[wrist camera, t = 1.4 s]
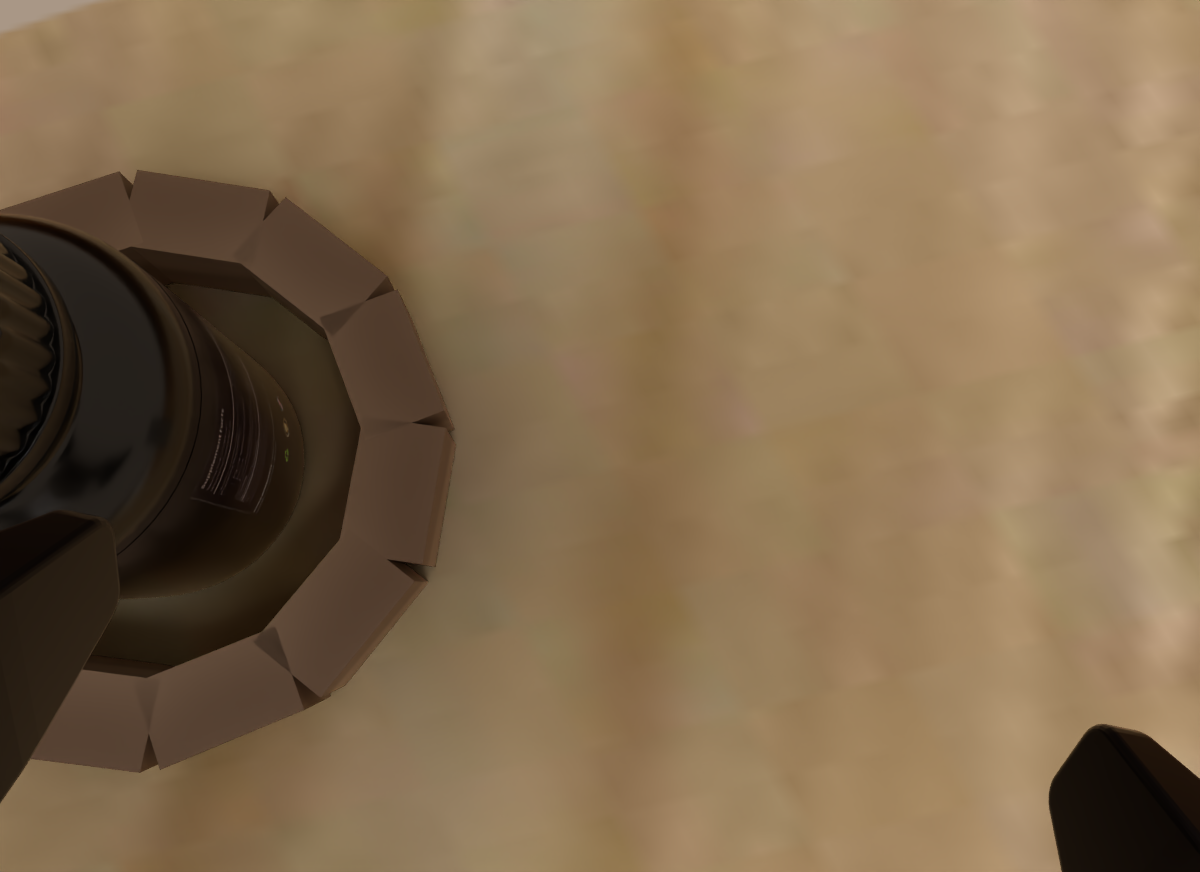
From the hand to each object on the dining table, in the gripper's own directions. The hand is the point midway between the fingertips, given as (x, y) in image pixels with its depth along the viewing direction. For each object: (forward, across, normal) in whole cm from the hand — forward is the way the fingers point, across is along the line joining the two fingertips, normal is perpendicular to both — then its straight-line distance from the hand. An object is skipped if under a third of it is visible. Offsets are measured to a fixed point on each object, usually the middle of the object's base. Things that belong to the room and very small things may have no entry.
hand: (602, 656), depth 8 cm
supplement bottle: (+13, +11, +9) cm, 19 cm away
